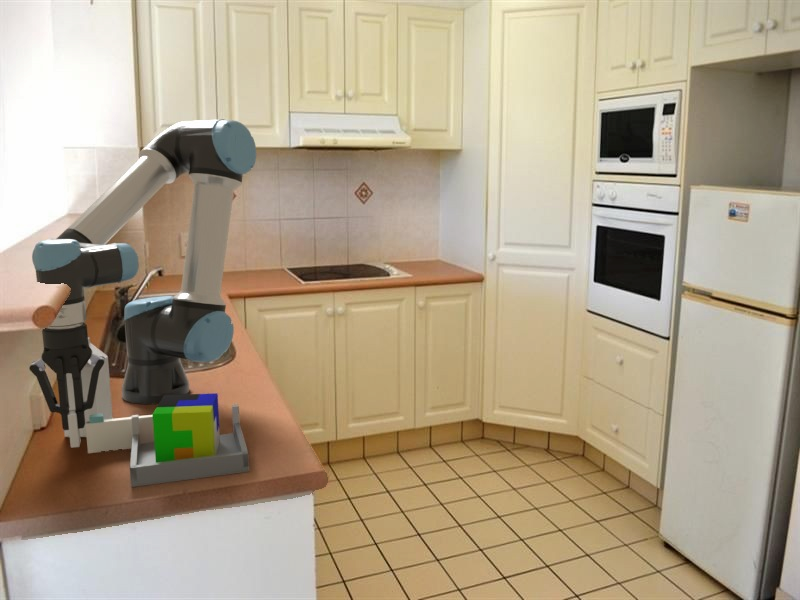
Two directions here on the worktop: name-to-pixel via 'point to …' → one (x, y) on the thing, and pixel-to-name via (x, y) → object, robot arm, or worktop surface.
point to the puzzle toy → (186, 427)
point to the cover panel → (116, 432)
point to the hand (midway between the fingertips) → (75, 444)
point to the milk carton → (102, 391)
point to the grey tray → (225, 461)
